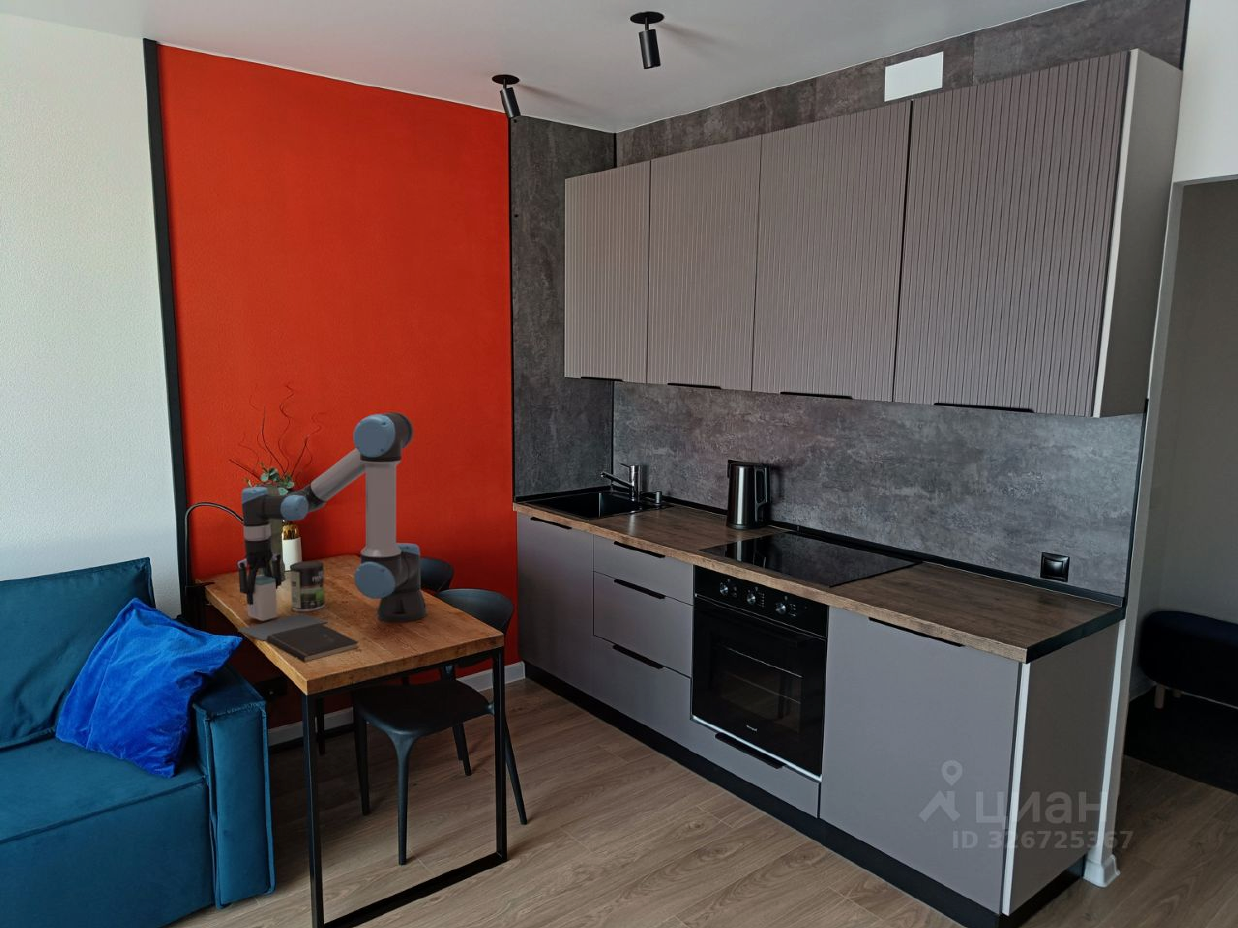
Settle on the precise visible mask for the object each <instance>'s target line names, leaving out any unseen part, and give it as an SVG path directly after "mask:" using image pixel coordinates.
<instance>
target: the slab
mask: <svg viewBox="0 0 1238 928" xmlns="http://www.w3.org/2000/svg"><path fill="white" fill-rule="evenodd" d="M247 580H248V576H247ZM254 594H256V601H257V615H253V614H250V605H249V604H247V603H246V606H247V616H249V617H251V618H254V619H256V620H259V621H262V622H263V621H267V620H270V619H274V618H277V617H278V604H277V589H276V582H275V579H274V578H271V577H267V576H265V575H262V574H260V575H259V574H257V575H256V581H255V587H254Z"/></svg>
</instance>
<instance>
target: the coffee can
mask: <svg viewBox="0 0 1238 928" xmlns="http://www.w3.org/2000/svg"><path fill="white" fill-rule="evenodd" d="M324 565H325V564H324V562H322V561H317V560H316V561H315V560H308V561H307V560H306V561H299V562H298V561H297V562H294V563H291V564H290V565H289V569H290V585H291V586H290V588H291V589H290V590H291V591H290V592H291V609H292V610H293V611H296V612H311V611H312V612H313V611H317V610H321V609H323V608H324V607H325V606H326V599H325V597H326V595H325V576H324V575H325V574H324Z"/></svg>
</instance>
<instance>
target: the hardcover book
mask: <svg viewBox="0 0 1238 928" xmlns="http://www.w3.org/2000/svg"><path fill="white" fill-rule="evenodd" d="M267 642H268V643H269V644H271V645H272V646H275V647H277V648H278V649H280V650H282V651H283V652H286V653H287V654H289V655H291V656H292V657H294V658H296V657H297V658H296V659H298V660H299V659H300V660H299V661H301V660H302V661H301V662H303V661H304V662H303V663H306V662H308V660H309V661H312V659H313V660H316V659H319V658H323V657H327V656H331V655H334V654H338V653H341V652H346V651H350V650H354V649H357V648H358V645H357V644H359V641H358V640H355V639H353V638H351V637H349V636H347V635H344V634H343V633H341V632H339V631H336V630H334V629H332V628H330V627H329V626H326V625H325V624H320V623H318V624H313V625H309V626H305V627H301V628H297V629H292V630H288V631H284V632H280V633H276V634H272V635H269V636H268V637H267Z"/></svg>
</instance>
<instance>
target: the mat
mask: <svg viewBox="0 0 1238 928" xmlns="http://www.w3.org/2000/svg"><path fill="white" fill-rule="evenodd" d="M318 623H320V624H322V625H325V624H328V621H326V620H322V618H321V619H320V618H318V617H315V616H311V615H310V614H309V615H308V614H306V613H302V612H300V613H295V614H292V615H288V616H285V617H282V618H276V619H274V620H269V621H266V622H261V623H259V624H255V625H252V626H248V627H244V628H240V629H237V632H239V633H241V634H244V635H246V636H248V637H251V638H254V639H256V640H259V641H262V642H266V641H267V637H268V636H269V635H272V634H276V633H280V632H284V631H288V630H292V629H297V628H301V627H305V626H309V625H313V624H318Z"/></svg>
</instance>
